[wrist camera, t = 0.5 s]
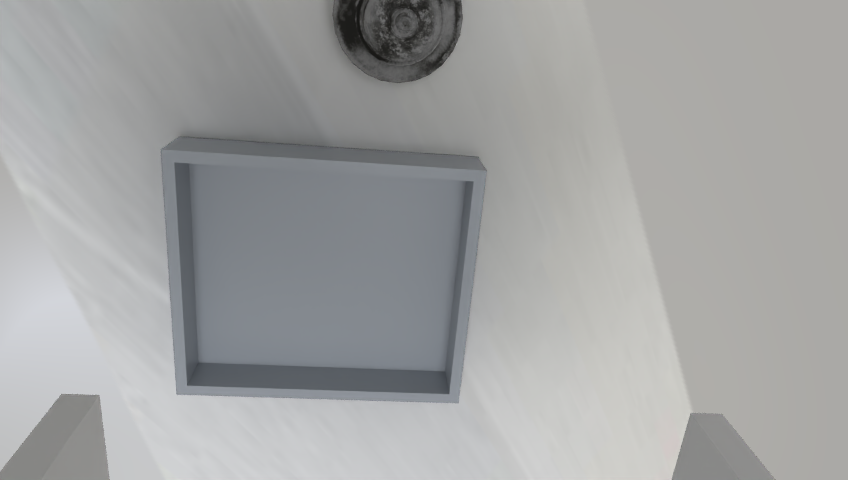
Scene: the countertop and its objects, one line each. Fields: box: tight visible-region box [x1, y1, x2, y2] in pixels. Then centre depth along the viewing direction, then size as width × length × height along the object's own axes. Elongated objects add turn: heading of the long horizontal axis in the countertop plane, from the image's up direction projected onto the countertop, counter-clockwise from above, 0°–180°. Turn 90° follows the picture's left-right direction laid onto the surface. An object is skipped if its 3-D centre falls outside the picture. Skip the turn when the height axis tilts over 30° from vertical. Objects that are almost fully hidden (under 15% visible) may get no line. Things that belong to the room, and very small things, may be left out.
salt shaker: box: [333, 0, 463, 83], centre depth 26 cm, size 6×6×12 cm
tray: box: [161, 137, 487, 403], centre depth 35 cm, size 14×16×3 cm
